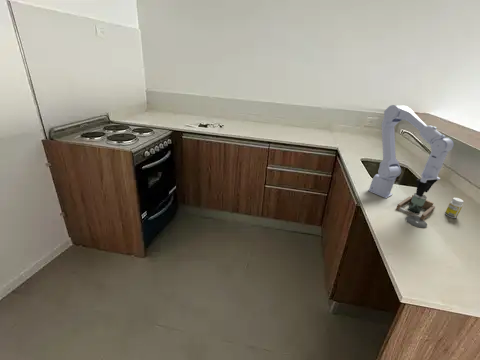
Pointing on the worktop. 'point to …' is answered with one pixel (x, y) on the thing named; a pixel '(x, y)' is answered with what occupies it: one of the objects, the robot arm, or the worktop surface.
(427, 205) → the frame
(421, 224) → the coaster
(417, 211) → the tin can
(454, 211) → the supplement bottle
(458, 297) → the worktop surface
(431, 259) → the worktop surface
